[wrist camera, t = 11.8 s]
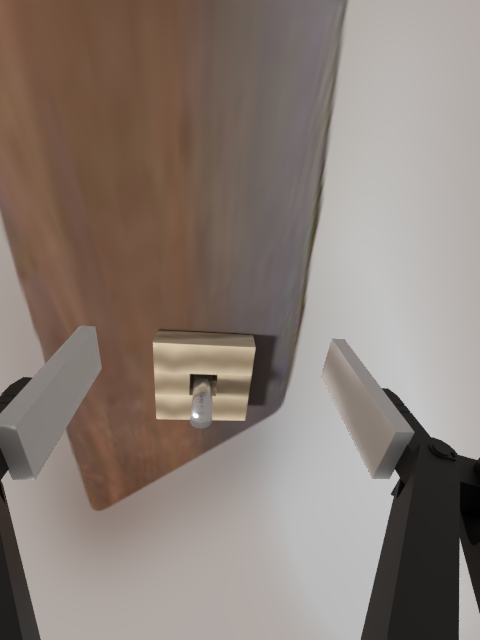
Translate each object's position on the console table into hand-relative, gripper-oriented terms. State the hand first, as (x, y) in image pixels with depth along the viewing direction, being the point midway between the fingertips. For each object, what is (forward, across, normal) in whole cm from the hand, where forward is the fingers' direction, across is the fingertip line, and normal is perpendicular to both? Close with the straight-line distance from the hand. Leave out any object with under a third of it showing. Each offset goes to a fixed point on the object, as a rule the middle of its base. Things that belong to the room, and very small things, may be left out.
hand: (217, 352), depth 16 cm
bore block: (+28, -1, -23) cm, 36 cm away
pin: (+27, -1, -23) cm, 36 cm away
